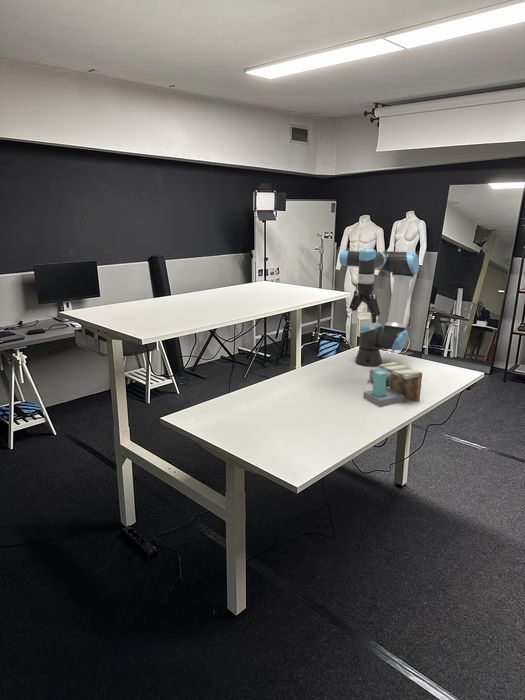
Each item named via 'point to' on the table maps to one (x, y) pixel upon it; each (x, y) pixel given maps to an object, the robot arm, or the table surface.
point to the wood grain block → (404, 380)
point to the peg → (379, 384)
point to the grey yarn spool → (375, 369)
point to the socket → (388, 399)
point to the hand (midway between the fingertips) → (363, 326)
